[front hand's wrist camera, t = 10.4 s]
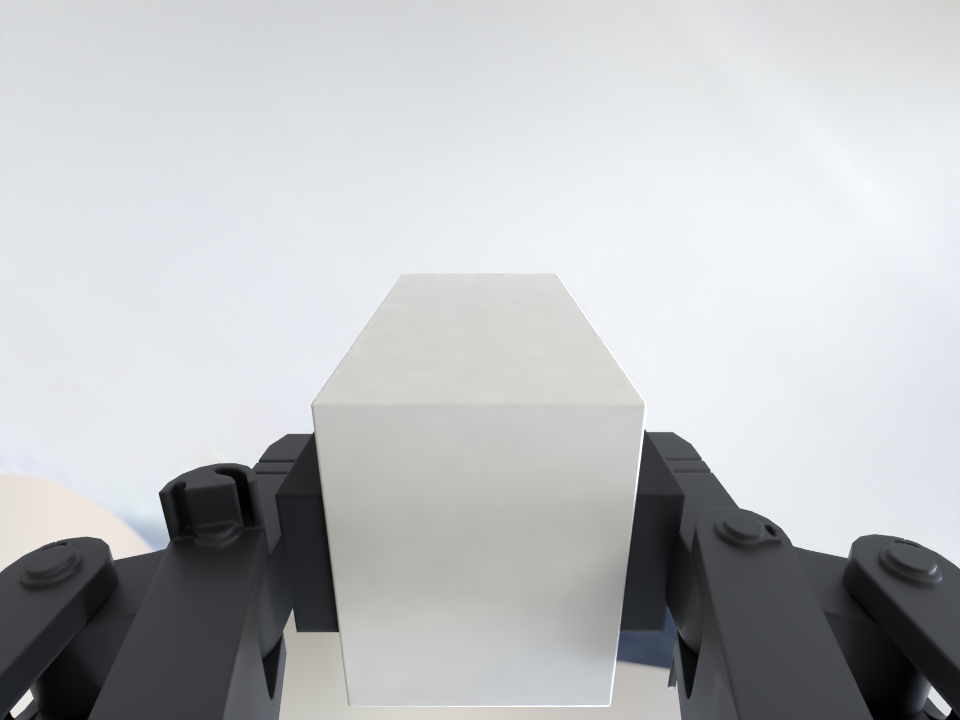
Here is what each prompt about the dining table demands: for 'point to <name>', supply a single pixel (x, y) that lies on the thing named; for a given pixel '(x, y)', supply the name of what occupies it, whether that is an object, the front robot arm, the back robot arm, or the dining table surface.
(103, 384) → the dining table surface
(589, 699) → the white rectangular block
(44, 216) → the dining table surface
